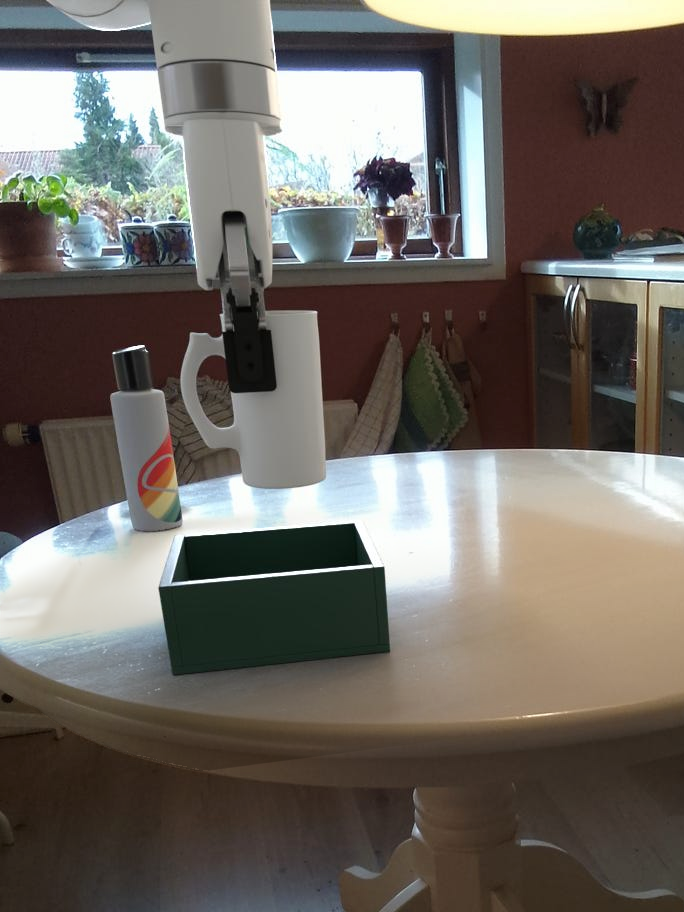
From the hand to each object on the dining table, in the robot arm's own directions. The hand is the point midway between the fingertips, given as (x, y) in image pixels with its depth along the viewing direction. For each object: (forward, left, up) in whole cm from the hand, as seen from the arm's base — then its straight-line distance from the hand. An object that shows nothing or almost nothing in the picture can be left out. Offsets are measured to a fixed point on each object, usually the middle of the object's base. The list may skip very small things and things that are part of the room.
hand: (253, 384), depth 67 cm
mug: (0, 0, -7) cm, 7 cm away
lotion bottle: (-13, +40, -19) cm, 46 cm away
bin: (0, 0, -19) cm, 19 cm away
